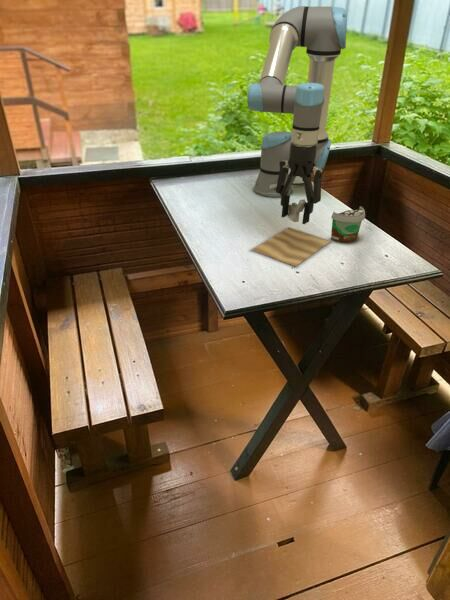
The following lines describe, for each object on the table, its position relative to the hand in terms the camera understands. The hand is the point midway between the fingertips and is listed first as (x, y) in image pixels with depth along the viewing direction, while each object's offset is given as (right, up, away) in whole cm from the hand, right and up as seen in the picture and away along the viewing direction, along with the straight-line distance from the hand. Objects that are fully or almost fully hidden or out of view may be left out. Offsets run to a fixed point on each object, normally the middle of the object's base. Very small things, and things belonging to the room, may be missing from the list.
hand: (294, 219), depth 138 cm
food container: (+19, -5, +10) cm, 22 cm away
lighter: (0, -1, +1) cm, 1 cm away
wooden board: (0, -8, +5) cm, 9 cm away
